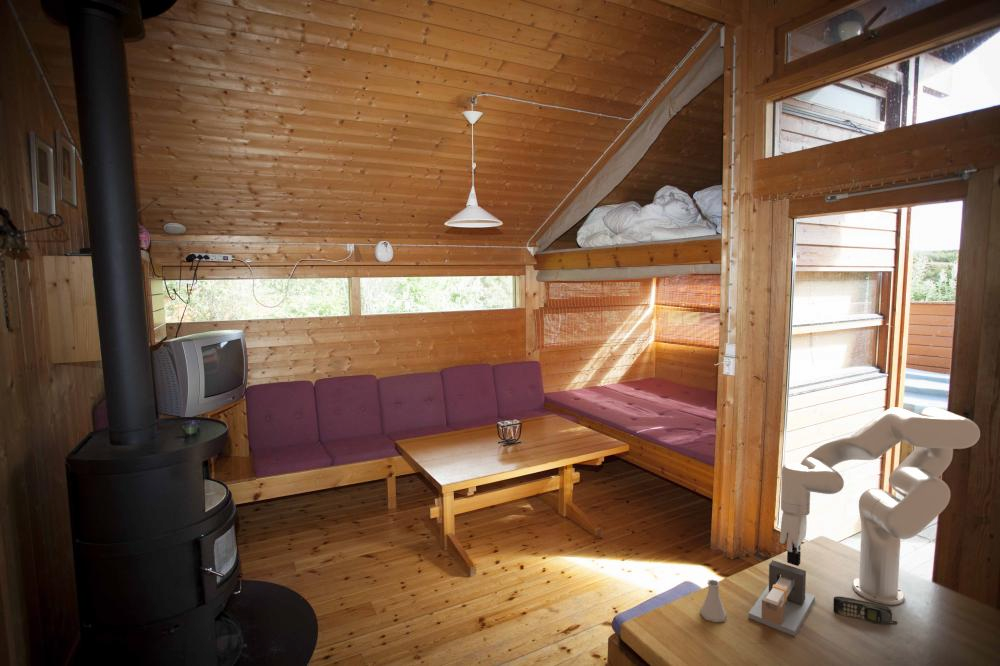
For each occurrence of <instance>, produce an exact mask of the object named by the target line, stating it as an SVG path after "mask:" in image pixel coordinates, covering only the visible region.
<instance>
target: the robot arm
mask: <svg viewBox="0 0 1000 666" xmlns="http://www.w3.org/2000/svg"><path fill="white" fill-rule="evenodd" d="M980 437H981V430H980V428H979V426H978V425H977V423H976V422H974V421H973V420H971V419H970V418H966V417H965V416H962V415H959V414H956V413H954V412H952V411H948V410H946V409H943V408H940V407H934V406H932V407H930V406H927V407H925V408H924V409H922V410H921V411H920V412H919V414H918V413H915V412H913V411H911V410H908V409H905V408H902V407H890V408H888V409H885V410H884V411H883V412H882V413H881V414H879V415H878V416H876V417H875V418H873V419H872V420H871V421H870V422H868V423H867V424H865V425H863V427H861V428H860V429H859V430H857V431H856V432H855V433H853V434H851V435H850V436H847V437H842V438H839V439H836V440H833V441H829V442H827V443H825V444H822V445H820V446H819V447H817V448H815V449H814V450H813V451H812V452H810V453H809V454H808V455H806V457H804V458H803V459H802V461H801V462H800V463H794V462H793V463H791V462H789V463H785V464H784V465H783V466H782V467H781V487H780V488H781V489H780V490H781V491H780V495H781V497H780V510H781V511H782V516H781V522H780V534H779V543H780V544H781V545H784V544H785V543H786V552H787V553H786V554H787V555H786V556H787V557H786V561H787V564H790V565H794V566H796V567H799V566H800V564H801V550H802V549H801V548H802V543H803V541H804V540H805V539H806V536H807V523H808V521H807V516H808V515H809V514H811V513H810V512H811V511H810V508H811V506H810V505H811V493H817V494H823V495H834V494H837V493H839V492H841V491H842V490H843V488H844V485H845V481H844V479H843V478H844V477H843V476H842V475H841V473H839V471H837V470H835V469H834V468H833V467H834V466H836V465H838V464H841V463H843V462H845V461H852V460H855V461H856V460H857V461H859V460H861V461H873V460H877V459H878V458H880V457H881V456H882V455H884V454H886V452H888V451H889V450H891V449H892V448H894V447H895V446H896V445H898V444H899V443H900V442H904V443H906V444H908V445H911V446H914V447H915V448H914V449H913V450H912V451H911V453H910V454H908V455H907V456H906V458H904V459H903V461H902V462H901V463H899V464H898V466H897V467H896V468H895V469H894V470H893V471H892V472H891V473H890V475H889V477H888V483H889V484H888V485H889V486H890V487H891V488H892V489H893V490H894V491H895V492H896V493H898V494H899V495H901V496H902V497H903V498H902V500H901V499H900V498H898V497H897V496H895V495H893V494H892V493H890V492H889V491H887V490H884V489H881V488H871V489H870V488H869V489H867V490H865V491H864V492H863V493H861V495H860V497H859V500H858V510H859V511H858V512H859V517H860V526H861V527H860V530H861V531H860V532H861V533H860V551H859V553H860V554H859V574H858V575H859V577H856V578H854V579H853V582H852V587H853V590H854V591H855V592H856V593H857V594H858V595H859V596H861V597H863V598H865V599H867V600H869V601H871V602H873V603H876V604H880V605H881V604H882V605H890V606H892V605H898V604H902V602H904V600H905V593H904V591H903V590H902V589H901V588H900V587H899V576H900V575H899V571H900V556H901V555H900V553H901V540H909V539H911V538H914V537H916V536H917V535H919V534H920V533H921V532H922V531H924V529H925V528H926V527H927V526H929V525H930V524H931V523H932V522H933V520H935V519H936V518H937V517H938V516H939V515H940V514H941V513H942V512H944V510H945V509H946V507H947V506H948V505H949V503H950V500H951V490H950V487H949V485H948V484H947V483H946V482H945V481H944V480H942V478H940V477H941V475H942V474H943V473H944V472H945V471H946V470H947V468H949V466H950V465H951V463H952V460H953V455H954V450H955V449H957V450H961V449H967V448H970V447H973V446H974V445H975V444H977V442H978V441H979V439H980Z"/></svg>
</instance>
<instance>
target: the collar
mask: <svg viewBox="0 0 1000 666" xmlns="http://www.w3.org/2000/svg"><path fill="white" fill-rule="evenodd" d="M806 573H807V571H806V570H804V569H801V568H798V567H795V566H792V565H788V564H787V563H786V564H785V563H783V562H779V561H777V560H773V559H772V560H771V562H770V563H769V565H768V585H769V593H770V591H771V590H772V586H773V584H776V583H777V581H778V580H779V578H780V577H781V576H784V577H787V578H790V579H793V580H794V589H792V590H791V592H790V593H789V595H788V596H787V599H788V600H791V601H793V602H796V603H799V604H803V602H804V601H805V593H806V586H807V585H806V584H807V583H806V580H807V579H806V578H807V577H806V576H807V574H806Z"/></svg>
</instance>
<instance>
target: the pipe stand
mask: <svg viewBox="0 0 1000 666" xmlns="http://www.w3.org/2000/svg"><path fill="white" fill-rule="evenodd" d="M792 589H794V580H793V579H790V578H787V577H784V576H781V575H780V578H779V580H778V581H777V583H776V584H773V586H772V590H771V591H770V593H769V584H768V585H767V586H766V588H765V589H764V590H763V592H762V594H761V595H760V596H759V598H757V600H756V602H754V604H753V606H752V607H751V609H750V610H749V611H748V618H749V619H750V620H753V621H755V622H758V623H761V624H762V625H763V624H764V625H766V626H768V627H770V628H773V629H775V630H778V631H781V632H783V633H786V634H789V636H793V637H796V635H797V633H798V632H799V630H800V629H801V626H802V625H803V623H804V620H806V618H807V616H808V613H809V612H810V610H811V609H812V607H813V605H814V603H815V601H816V596H815V595H813V594H810V593H808V592H805V601H804V602H803V604H799V603H796V602H793V601H791V600H788V599H787V596H788V595H789V593H790V592H791V590H792Z"/></svg>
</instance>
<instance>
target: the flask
mask: <svg viewBox="0 0 1000 666" xmlns="http://www.w3.org/2000/svg"><path fill="white" fill-rule="evenodd" d="M707 585H708V590H707V594H706V597H705V599H704V602H703V604H702V606H701V609H700V612H699V613H700V615H701V617H703V619H704V620H706V621H710V622H713V623H723V622H726V620H727V615H728V614H727V612H726V609H725V607H724V605H723V602H722V600H721V596H720V591H719V587H720V582H719V581H718V580H715V579H708V580H707Z"/></svg>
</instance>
